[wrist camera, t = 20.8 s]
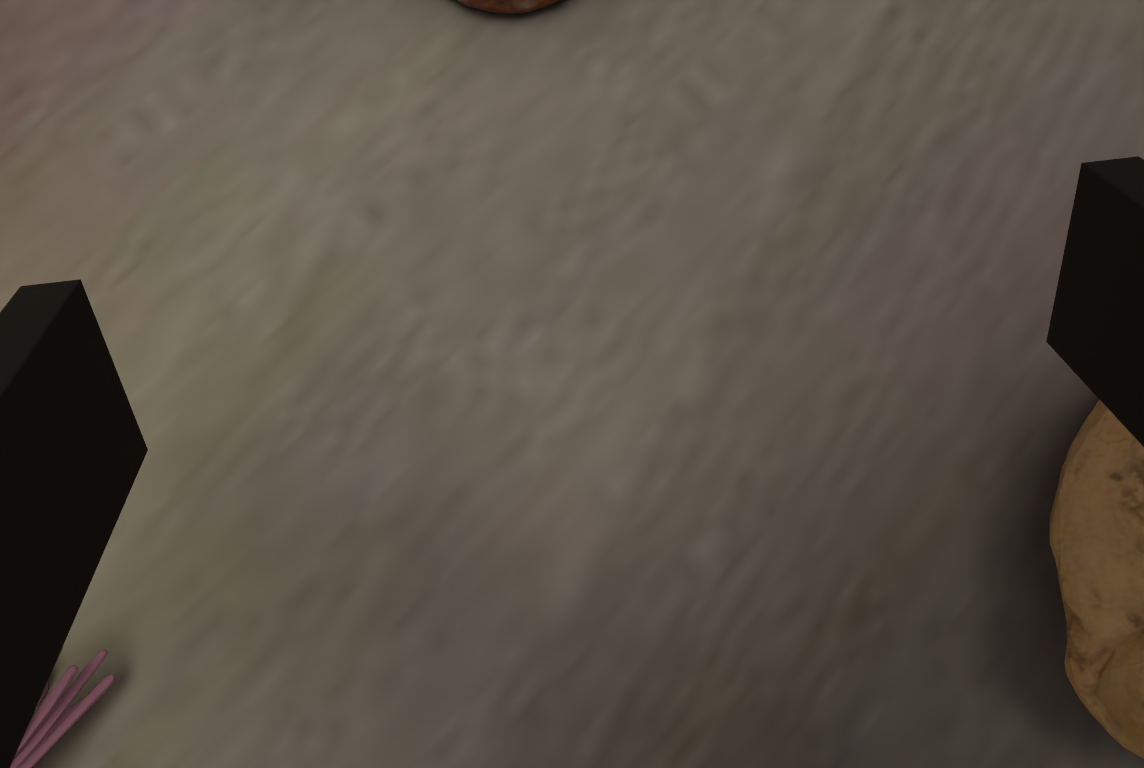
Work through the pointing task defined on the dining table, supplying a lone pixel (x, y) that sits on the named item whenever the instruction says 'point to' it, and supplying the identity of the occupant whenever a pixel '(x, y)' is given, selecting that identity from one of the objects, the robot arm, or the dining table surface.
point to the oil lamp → (1104, 572)
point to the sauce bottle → (507, 5)
